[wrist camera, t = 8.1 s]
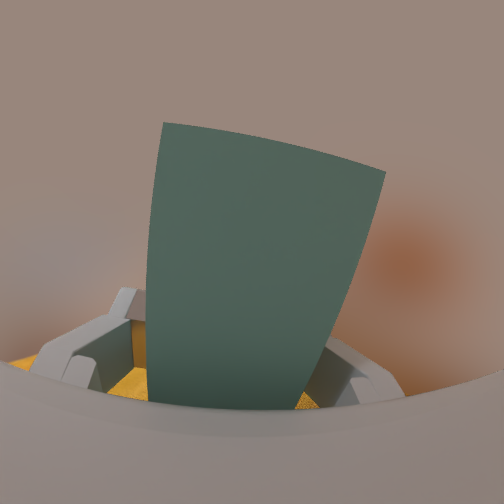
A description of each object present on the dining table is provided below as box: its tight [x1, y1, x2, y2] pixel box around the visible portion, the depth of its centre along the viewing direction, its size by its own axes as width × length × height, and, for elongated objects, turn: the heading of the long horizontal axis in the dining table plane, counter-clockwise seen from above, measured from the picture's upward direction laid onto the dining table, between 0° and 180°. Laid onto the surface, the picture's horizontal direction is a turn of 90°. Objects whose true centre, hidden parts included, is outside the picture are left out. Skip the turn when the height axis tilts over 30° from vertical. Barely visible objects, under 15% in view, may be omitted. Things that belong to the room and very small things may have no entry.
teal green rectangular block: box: [145, 122, 386, 410], centre depth 9 cm, size 6×3×12 cm, turn 7°
